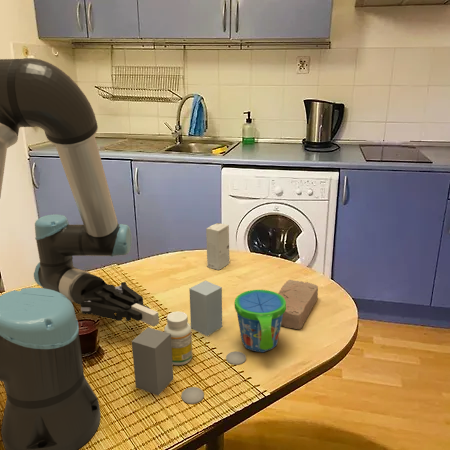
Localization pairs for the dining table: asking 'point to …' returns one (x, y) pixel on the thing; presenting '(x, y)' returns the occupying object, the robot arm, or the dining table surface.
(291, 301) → the brick
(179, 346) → the supplement bottle
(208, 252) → the skincare box
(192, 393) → the coaster left
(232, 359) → the coaster right
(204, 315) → the light grey rectangular block
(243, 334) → the snack cup
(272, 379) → the dining table surface
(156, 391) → the post charcoal
